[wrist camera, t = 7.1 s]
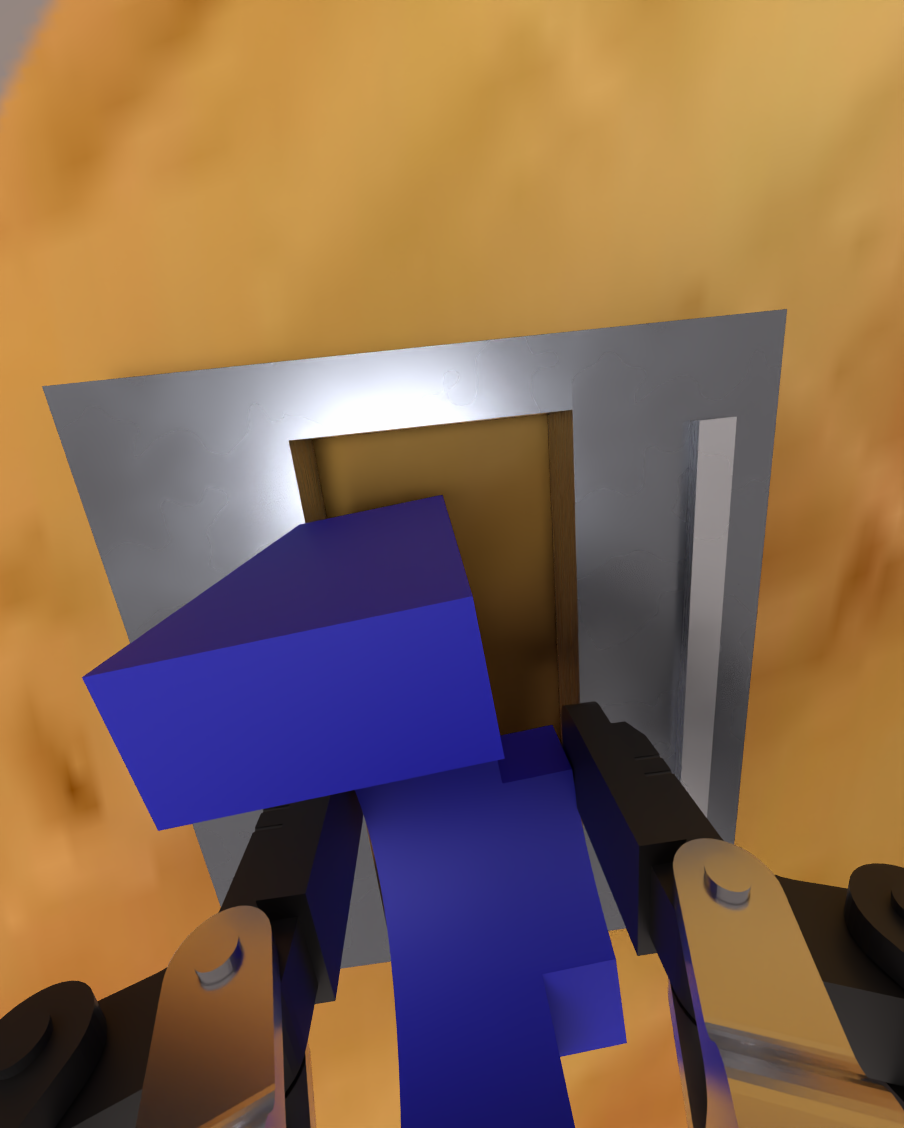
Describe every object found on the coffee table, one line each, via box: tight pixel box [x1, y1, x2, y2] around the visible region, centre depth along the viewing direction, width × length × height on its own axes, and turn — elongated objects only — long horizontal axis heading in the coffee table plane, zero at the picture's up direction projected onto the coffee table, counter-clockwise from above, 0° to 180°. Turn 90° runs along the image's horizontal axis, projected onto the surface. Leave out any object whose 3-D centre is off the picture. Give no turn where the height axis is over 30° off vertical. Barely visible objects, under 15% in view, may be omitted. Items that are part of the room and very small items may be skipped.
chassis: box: [42, 309, 787, 968], centre depth 12 cm, size 15×17×3 cm
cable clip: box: [82, 495, 627, 1128], centre depth 8 cm, size 12×4×6 cm, turn 11°
